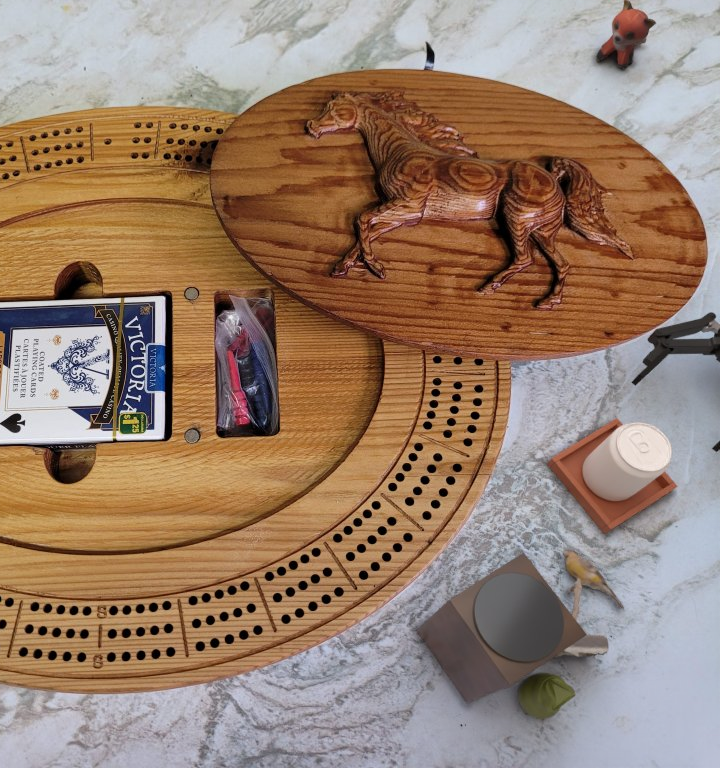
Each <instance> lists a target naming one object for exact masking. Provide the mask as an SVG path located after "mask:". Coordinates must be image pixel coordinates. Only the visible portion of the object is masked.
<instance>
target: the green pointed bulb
mask: <svg viewBox="0 0 720 768" xmlns="http://www.w3.org/2000/svg"><path fill="white" fill-rule="evenodd" d="M575 697H576V691H575V689H574V687H572V686H570V685H569V684H568V683H567V682H566V681H565V679H563V678H562V677H561V676H559V675H556V674H551V673H550V672H549V673H548V672H537V673H534V674H531V675H529V676H526V678H523V680H522V681H521V682H520V684H519V686H518V688H517V700H518V703H519V704H520V706H521V708H522V709H523V711H524V712H525V713H527V714H528V715H529V716H531V717H533V718H535V719H538V720H546V719H550V718H552V717H555V715H556V714H558V712H559V711H560V710H561V708H562V706H564V705H565V704H567V703H568V702H569V701H571V700H572V699H573V698H575Z"/></svg>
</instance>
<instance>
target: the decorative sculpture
mask: <svg viewBox="0 0 720 768" xmlns="http://www.w3.org/2000/svg"><path fill="white" fill-rule="evenodd" d="M562 554H563V556H564V557H565V558H564V560H565V561H564V562H565V568H566V571H567V572H568V573H569V575H570V576H572V577H574V579H576V580H575V582H574V583H573V585H572V586H570V587H569V588H568V589H567V594H571V593H573V596H574V600H573V606H572V607H573V608H572V611H571V615H572V616H573V617H574V619H575V620H576V621H577V620H578V615H579V612H580V605H579V604H580V601H581V592H582V590H583V586H587V587H589V588H590V589H592V590H598V591H600V592H602V593H604V594H607V595H608V596H609V597H610V598H612V599H613V600H614V601H615V603H617V605H618V607H619V609H623V610H625V606H624V605H623V604H622V602H621V601H620V599H619V598H618V596H617V595H616V594H615V593H614V591H613V590H612V589H611V588H610V586H609V584H608V583H607V581H606V579H605V577H604V576H603V575H602V574H601V572H600V571H599V570H598V569H597V567H596V566H595V565H594V563H592V562H591V561H589V560H588V559H586V558H584V557H581V556H579V554H578V552H577V551H575V550H572V549H570V548H567V549H565V550H564V551H563V552H562ZM608 652H609V640H608V638H607V636H605V635H602V634H600V635H599V634H587V635H586V636H584V637H583V638H581V639H580V640H578V641H577V642H575V643H574V644H573V645H571V646H570V647H568V648H567V649H565V650H564V651H562V652H561V653H559V654H558V655H556V656H555V657H562V656H564V655H565V656H567V657H569V656H575V657H578V658H582V657H585V658H590V657H591V658H592V657H594V658H595V657H596V656H597V655H598V656H604V655H605V654H608Z"/></svg>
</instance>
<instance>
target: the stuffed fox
mask: <svg viewBox="0 0 720 768" xmlns="http://www.w3.org/2000/svg"><path fill="white" fill-rule="evenodd" d="M656 25H657V22H656V21H655V20H654V19H653V18H649V16H648V15H647V14H646V13H645V12H644V11H643V10H642V9H641V10H640V9H637V8H634V7H633V5H632V3H631V1H630V0H623V5H622V10H621V11H620V12H618V14H616V15H615V16H614V17H613V19H612V22H611V31H612V34H611V36H610V37H609V38H608V39H607V41H605V42H604V43H603V44H602V45H601V48H600V49H599V50H598V51H597V53H596V56H595V59H596V63H598V64H600V61H602V60H604V59H606V58H608V57H610V56H609V55H610V54H612V53H613V52H614V51H616V52H617V57H616V59H617V67H618V68H622V69H623V70H625V69H627V67H629V66H630V65H632V64H633V63H634V60H633V59H634V53H635V50H636V47H639V46H641V45H643V44H646V43H647V38H648V35H649V32H650V29H651V28H653V27H654V26H656Z"/></svg>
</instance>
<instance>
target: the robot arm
mask: <svg viewBox="0 0 720 768" xmlns="http://www.w3.org/2000/svg"><path fill="white" fill-rule="evenodd" d="M716 318H717V314H716V313H715V312H712V311H710V312H708V313H707V314H704V315H703V316H702V317H701V318H700V317H699V318H697V319H692V320H688V321H684V322H679V323H675V324H671V325H667V326H663V327H659V328H655V329H654V331H653V332H652V333H651V334H650V335H649V336H648V337H647V342H648V343H649V344H651V345H653V349H652V350H651V351H650V352H649V353H647V355H645V357H644V358H643V359H642V361H641V362H642V364H643V365H644V366H646V367H645V368H644V369H643V370H642V371H641V372H639V374H638V375H636V377H635V378H633V380H632V381H631V382H630V383H631V384H632V385H633V386H635V387H636V386H637V385H638V384H639V383H640V382H641V381H643V379H645V378H646V377H647V376H648V375H649V374H650V373H651V372H652V371H653V370H654V369H655V368H656V367H657V366H659V364H661V363H662V362H663V361H664V360H665V359H666V358H667V357H668V356H669V355H703V356H714V357H715V360H716V361H717V362H718V363H720V323H719V322H718V321H717V320H716ZM700 332H701V333H705V334H706V333H709V332H711V333H713V336H712V337H710V338H685V337H687V336H691V335H696V334H698V333H700ZM683 337H684V338H683ZM711 449H712V450H713V451H714V452H715V453H717V452H719V451H720V440H719V441H717V442H716V443H715V444H714V446H712V447H711Z"/></svg>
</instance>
